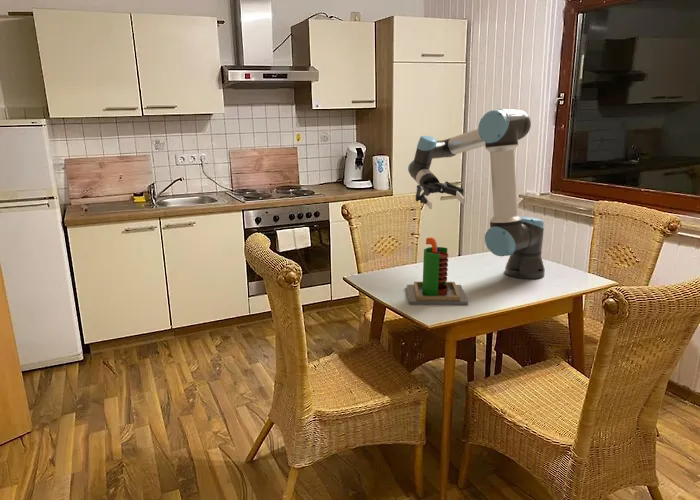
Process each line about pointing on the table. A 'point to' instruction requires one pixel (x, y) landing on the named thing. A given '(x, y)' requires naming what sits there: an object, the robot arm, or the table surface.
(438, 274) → the green cylindrical holder
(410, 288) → the plate
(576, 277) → the table surface
